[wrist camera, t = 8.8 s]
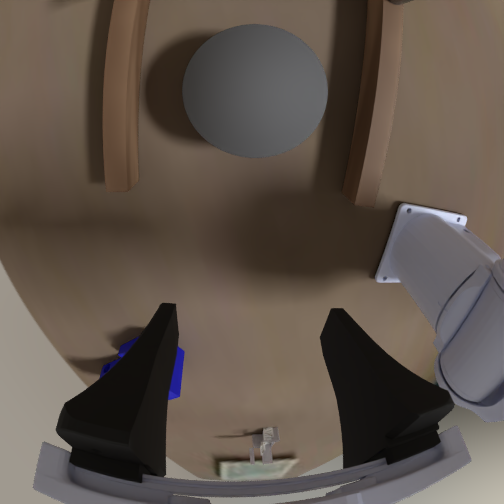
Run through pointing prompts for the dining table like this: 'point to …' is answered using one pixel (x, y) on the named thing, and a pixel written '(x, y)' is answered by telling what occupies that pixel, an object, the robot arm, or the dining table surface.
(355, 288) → the dining table surface
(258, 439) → the architectural model
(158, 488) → the robot arm
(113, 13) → the frame
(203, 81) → the grey round dome
